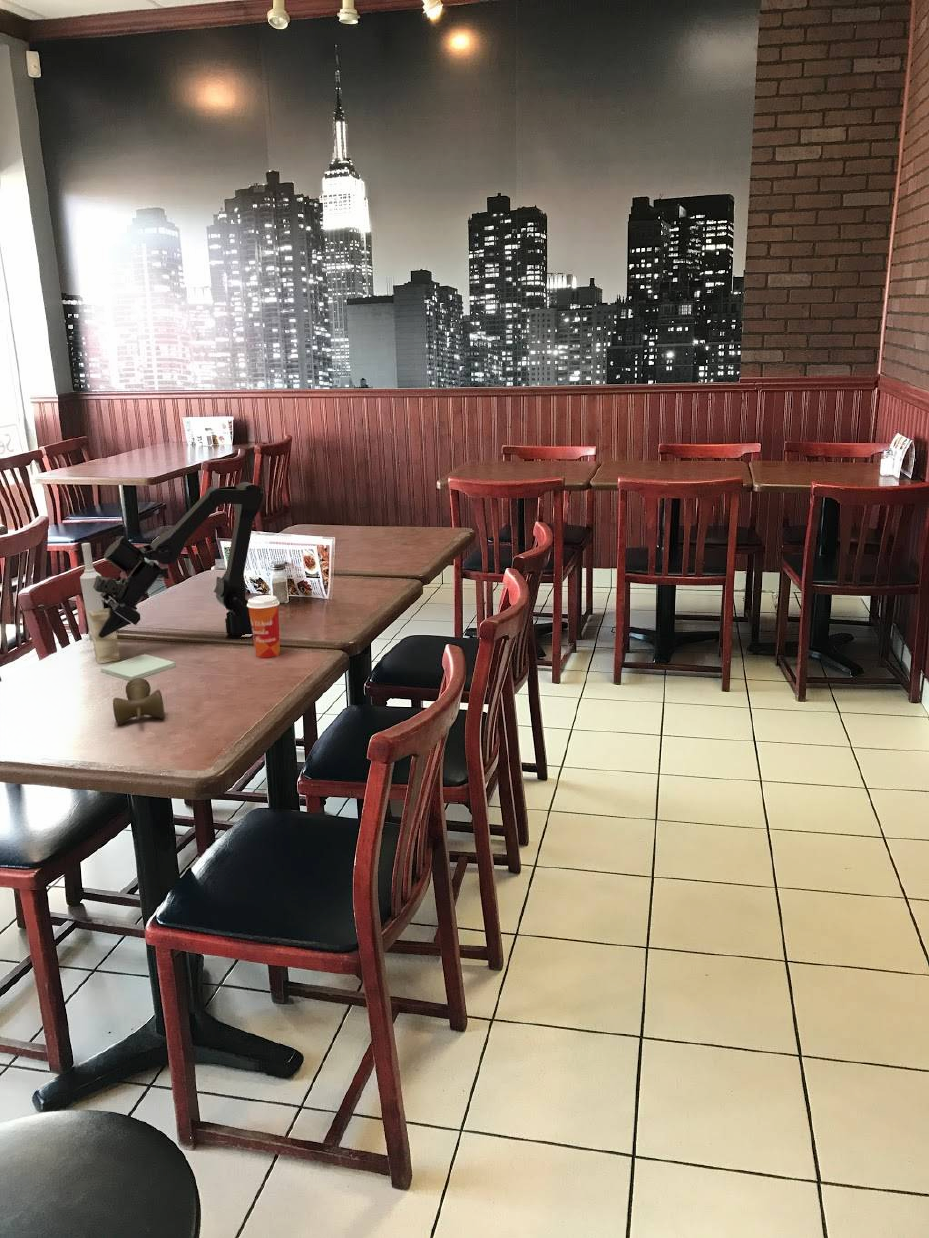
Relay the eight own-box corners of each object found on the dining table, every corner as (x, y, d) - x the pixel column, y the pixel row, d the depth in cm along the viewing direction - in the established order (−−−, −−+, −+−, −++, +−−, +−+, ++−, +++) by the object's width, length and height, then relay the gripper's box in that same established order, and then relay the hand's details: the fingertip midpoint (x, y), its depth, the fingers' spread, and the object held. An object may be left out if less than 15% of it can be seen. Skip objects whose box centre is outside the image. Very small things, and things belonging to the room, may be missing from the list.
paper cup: (245, 658, 240) (239, 601, 236) (263, 648, 246) (257, 593, 242) (273, 660, 237) (268, 603, 233) (290, 651, 243) (285, 595, 240)
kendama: (163, 697, 217) (166, 727, 199) (116, 705, 214) (116, 736, 196) (159, 671, 216) (162, 699, 197) (112, 678, 213) (111, 707, 194)
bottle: (114, 635, 262) (100, 542, 255) (99, 641, 258) (85, 546, 251) (99, 633, 264) (85, 541, 257) (84, 639, 260) (70, 545, 253)
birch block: (116, 654, 246) (109, 607, 242) (120, 659, 242) (113, 612, 238) (95, 658, 243) (88, 611, 240) (99, 663, 239) (92, 615, 236)
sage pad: (145, 658, 243) (144, 654, 242) (175, 666, 235) (175, 662, 235) (101, 672, 234) (100, 667, 233) (131, 681, 226) (131, 677, 226)
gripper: (103, 556, 246) (63, 607, 244) (119, 570, 230) (76, 624, 228) (140, 582, 252) (101, 632, 250) (158, 597, 236) (116, 651, 234)
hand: (98, 634), depth 240 cm, fingers closed on birch block, 5 cm apart
